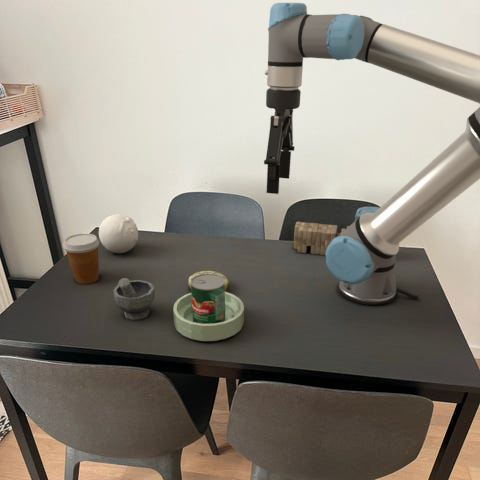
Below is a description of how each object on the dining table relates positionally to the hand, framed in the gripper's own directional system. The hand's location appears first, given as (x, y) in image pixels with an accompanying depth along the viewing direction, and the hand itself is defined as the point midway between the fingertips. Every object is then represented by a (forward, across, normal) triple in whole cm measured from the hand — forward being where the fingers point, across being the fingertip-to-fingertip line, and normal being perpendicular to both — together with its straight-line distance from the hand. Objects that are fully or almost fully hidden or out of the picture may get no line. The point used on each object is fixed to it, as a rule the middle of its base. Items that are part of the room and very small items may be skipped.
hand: (278, 185), depth 113 cm
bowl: (+29, +22, -11) cm, 38 cm away
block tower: (+29, -31, +15) cm, 45 cm away
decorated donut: (+29, +5, -17) cm, 34 cm away
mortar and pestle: (+29, +23, -30) cm, 48 cm away
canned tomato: (+28, +22, -11) cm, 37 cm away
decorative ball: (+29, -11, -52) cm, 60 cm away
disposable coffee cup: (+29, +9, -52) cm, 60 cm away
